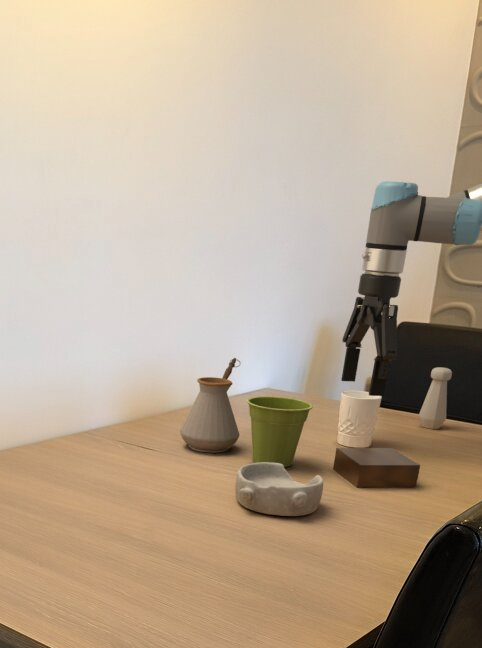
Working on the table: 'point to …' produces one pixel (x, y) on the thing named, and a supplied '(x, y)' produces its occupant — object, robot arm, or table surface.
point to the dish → (276, 490)
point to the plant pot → (276, 427)
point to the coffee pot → (211, 416)
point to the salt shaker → (436, 399)
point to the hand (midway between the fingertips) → (361, 388)
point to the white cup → (357, 418)
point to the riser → (376, 467)
